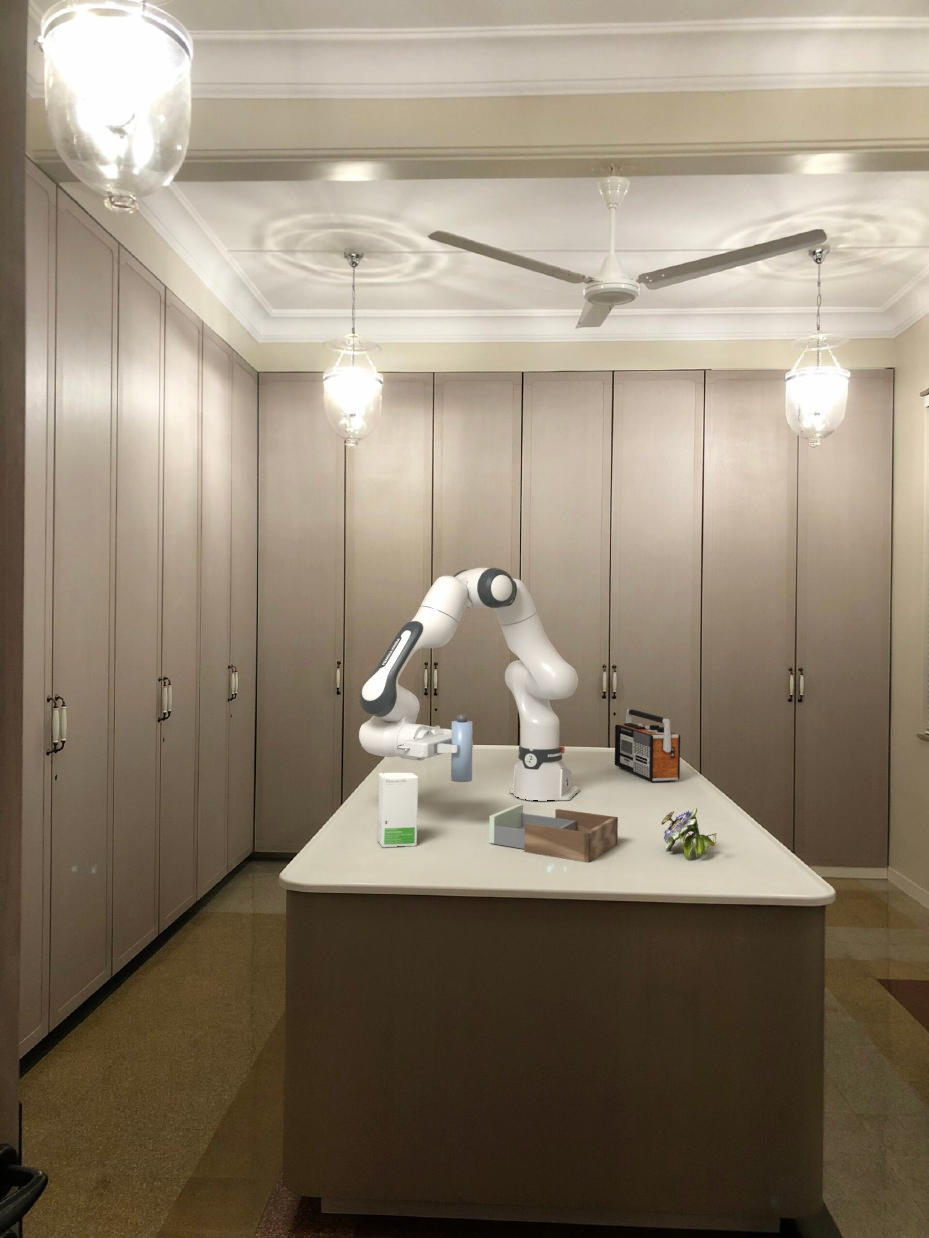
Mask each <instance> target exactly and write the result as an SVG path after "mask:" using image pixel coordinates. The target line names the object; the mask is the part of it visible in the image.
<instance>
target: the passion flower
mask: <svg viewBox="0 0 929 1238" xmlns="http://www.w3.org/2000/svg"><path fill="white" fill-rule="evenodd" d="M697 812H698V808H697V807H696V808H695V807H694V808H693V809H692V811H690V810H688V811H686V812H683V813H681V814H678V816H675V819H674V820H673V818H672V817H673V815H674V814H675V811H674V810H673V811H670V812H669V813H667V814H666V815H665V817H664V818H663V820H662V821H661V825H665V824H666V823H667V822H668V821H670V822H671V823H669V826H668V827H667V828H666V830H664V831H663V833H664V836H663V840H664V842H665V843H666V848H665V849H664V850H665V851H666V852H670V851H671V850H672V848H673V847H674V845H675V844H676V842H677V841H678V840H679V839H680V843H681V844H682V845H683V854H684V855H683V856H684V858H686V860H688V861H691V859H692V858H691V856H692V854H693V851H694V850H693V849H695V857H696V858H698V857H700V856H701V855H702V854H703V855H705V854H707V853H706V852H707V850H708V846H710V845H711V846H712V847H715V844H716V843H717V833H712V834H711V833H710V834H708V835H705V834H700V829H699V823H698V819H697V817H696V816H697ZM690 832H692V833H690ZM710 836H711V837H713V840H712V839H711V838H710ZM694 842H695V846H694Z"/></svg>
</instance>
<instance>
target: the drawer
mask: <svg viewBox="0 0 929 1238" xmlns="http://www.w3.org/2000/svg"><path fill="white" fill-rule="evenodd" d="M526 823H527V824H534V825H541V826H547V827H554V828H561V829H567V830H574V831H576V821H574V820H567V819H560V818H555V817H552V816H544V815H538V814H531V813H524V804H523V803H518V804H515V805H512V806H510V807H508V808H505V809H503V810H500V811H498V812H496V813H494V814H492V815H491V814H490V815H489V825H488V826H489V827H488V828H489V831H488V835H489V837H488V839H489V840H488V843H489V844H494V845H497V846H498V845H499V846H505V847H511V848H517V849H522V850H524V834H525V824H526Z"/></svg>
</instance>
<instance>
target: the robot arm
mask: <svg viewBox="0 0 929 1238" xmlns="http://www.w3.org/2000/svg"><path fill="white" fill-rule="evenodd" d="M490 608H491V609H493V610H494V612H495V614H496V616H497V621H498V623H499V625H500V626H499V627H500V629H501V631H502V633H503V638H504V639H505V642H506V645H507V647H508V649H509V650H510V652H512V653H513V654H514V655H515V656H516V657H518V659H517V660H514V661H512V662H510V663H509V664H508V666H507V668H506V669H505V672H504V683H505V684H506V686H507V688H508V689H509V690H510V692H511V694H512V696H513V698H514V700H515V703H516V708H517V711H518V715H519V723H520V724H519V725H520V728H519V730H520V731H519V732H520V737H519V738H520V739H519V740H520V741H519V742H520V745H519V746H518V753H517V754H518V759H519V760H518V762H516V764H515V765H514V772H513V782H512V784H513V785H512V788H509V791H508V793H509V792H511V793H513V794H514V795H513V794H512V795H513V796H514V797H515V796H516V797H515V798H517V797H519V798H518V799H520V800H525V799H526V800H527V801H533V800H538V801H537V802H548V801H547V800H555V801H570V800H572V799H573V798H574V797H575V796H576V795H577V794H578V793H579V792H580V791H579V790H580V789H581V788H580V787H579V786H577V785H574V784H572V783H573V782H572V781H573V780H572V779H573V777H572V775H573V774H572V771H571V769H570V768H569V767H568V766H567V765H566V763H565V762H564V761H563V760H562V759H563V755H562V754H565V752H566V751H565V750H566V747H565V746H564V745H562V746H560V719H559V716H558V715H557V714H556V713H555V712H554V711H553V709H552V706H551V702H550V700H551V701H552V700H553V701H556V700H562V699H568V698H570V697H572V696H573V694H575V693H576V691H577V688H578V685H579V677H578V673H577V671H576V669H575V667H573V666H572V665H570V664H569V663H568V662H567V661H566V660H565V659H564V658H563V657H562V656H561V654H559V653H558V651H557V649H556V648H555V646H554V645H553V644H552V643H551V641H550V639H549V637H548V636H547V635H548V634H547V633H546V632H545V629H544V626H543V623H542V621H541V618H540V615H539V612H538V610H537V607H536V605H535V602H534V600H533V597H532V595H531V594H530V592H529V589H528V588H527V586H526V585H525V584H524V582H523V581H522V580H521V579H518V578H513V577H512V576H511V575H510V574H509V572H507V571H505V570H504V569H501V568H497V567H475V568H470V569H464V570H460V571H459V572H457V573H455V574H453V575H442V576H440V577H438V578H437V579H436V580H435V581H434V583H433V584H432V585H431V586H430V588H429V590H428V591H427V593H426V595H425V596H424V598H423V600H422V602H421V605H420V606H419V608H418V611H417V612H416V614H415V615H414V617H413V618H412V620H410V621H409V622H407V623H405V624H404V625H403V626H402V627H401V628H400V630H399V631H398V632H397V634H396V636H395V637H394V639H393V640H392V642H391V643H390V645H389V647H388V649H387V650H386V652H385V654H384V655H383V656H382V658H381V660H380V662H378V665H377V666H376V668H375V669H374V670H373V672H372V673H371V674H370V675H369V676H368V677H367V679H365V681H364V682H363V683H362V686H361V687H360V691H359V698H358V699H359V700H358V701H359V705H360V707H361V708H362V711H364V712H366V713H367V714H370V715H372V716H371V717H370V719H369V720H367V721H366V722H364V723H362V725H361V726H360V728H359V731H358V739H359V740H358V741H359V743H360V745H361V747H362V748H363V750H364V751H366V752H367V753H369V754H371V755H375V756H379V757H380V756H381V757H386V758H395V757H398V758H400V759H402V760H403V759H404V760H412V761H418V762H419V761H424V760H425V759H428V758H432V757H436V756H439V755H440V756H441V755H442V754H443V755H444V754H448V753H450V754H451V753H457V752H459V751H460V746H459V745H456V744H452V729H448V728H441V726H440V725H426V724H419V723H418V724H417V720H418V718H419V715H420V712H421V711H420V710H421V702H420V700H419V698H418V697H417V695H416V694H414V693H413V692H412V691H410V690H408V689H407V688H405V687H403V686H402V685H400V684H399V679H400V676H401V674H403V672H404V669H405V668H406V666H407V664H409V663H408V662H409V661H410V660H411V658H412V657H413V654H415V653H416V652H417V651H418V650H420V649H438V648H441V647H443V646H446V645H447V644H448V643H449V642H450V640H452V638H453V636H454V634H455V632H456V630H457V628H458V626H459V623H460V621H461V619H462V616H463V613H464V612H465V610H466V609H475V610H476V609H477V610H484V609H490ZM473 748H474V742H473V740H472V749H473ZM511 793H510V794H511ZM576 793H577V794H576ZM575 794H576V795H575ZM573 796H574V797H573ZM572 797H573V798H572ZM526 800H525V801H526Z"/></svg>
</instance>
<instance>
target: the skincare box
mask: <svg viewBox="0 0 929 1238" xmlns="http://www.w3.org/2000/svg"><path fill="white" fill-rule="evenodd" d="M377 796H378V799H377V801H378V802H377V804H378V805H377V827H376V828H377V829H376V831H377V832H376V835H377V837H376V838H377V839H376V840H377V843H379V845H380V847H381V848H397V846H405V847H414V846H413V845H417V844H418V840H417V839H418V804H419V803H418V802H419V799H418V798H419V776H418V775H416V774H415V773H413V772H378V795H377Z"/></svg>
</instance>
